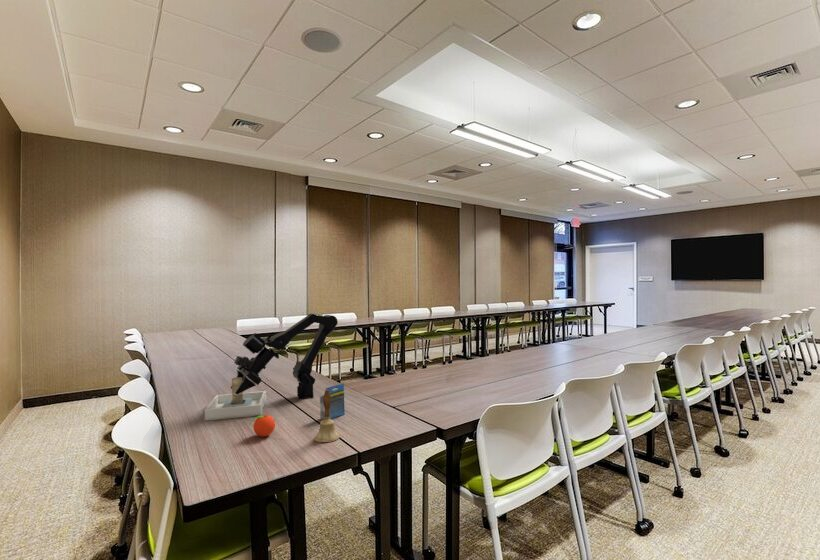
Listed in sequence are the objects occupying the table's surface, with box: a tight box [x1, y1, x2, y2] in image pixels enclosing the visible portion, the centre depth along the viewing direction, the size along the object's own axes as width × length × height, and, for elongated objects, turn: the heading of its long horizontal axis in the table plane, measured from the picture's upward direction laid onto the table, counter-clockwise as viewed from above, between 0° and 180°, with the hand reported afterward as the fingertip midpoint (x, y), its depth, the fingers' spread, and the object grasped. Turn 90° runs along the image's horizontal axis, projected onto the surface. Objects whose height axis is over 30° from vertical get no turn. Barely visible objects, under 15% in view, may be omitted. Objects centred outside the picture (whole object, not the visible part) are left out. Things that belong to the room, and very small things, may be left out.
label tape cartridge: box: [319, 382, 346, 421], centre depth 151 cm, size 9×4×12 cm, turn 139°
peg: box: [231, 376, 244, 405], centre depth 161 cm, size 4×4×12 cm
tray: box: [204, 390, 267, 422], centre depth 161 cm, size 20×20×4 cm
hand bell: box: [314, 389, 341, 443], centre depth 131 cm, size 8×8×16 cm
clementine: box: [249, 414, 276, 437], centre depth 133 cm, size 8×7×7 cm
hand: (233, 391), depth 160 cm, fingers open, 9 cm apart
